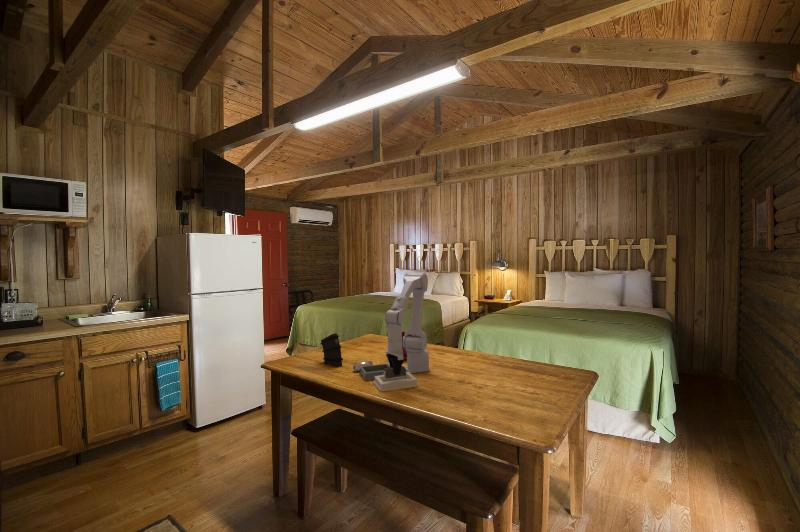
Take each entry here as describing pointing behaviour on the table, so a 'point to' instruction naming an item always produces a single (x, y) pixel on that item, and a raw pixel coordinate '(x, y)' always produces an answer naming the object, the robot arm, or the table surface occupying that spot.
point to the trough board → (395, 382)
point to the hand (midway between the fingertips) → (395, 372)
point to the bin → (373, 371)
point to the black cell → (390, 372)
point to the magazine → (332, 350)
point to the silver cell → (359, 364)
